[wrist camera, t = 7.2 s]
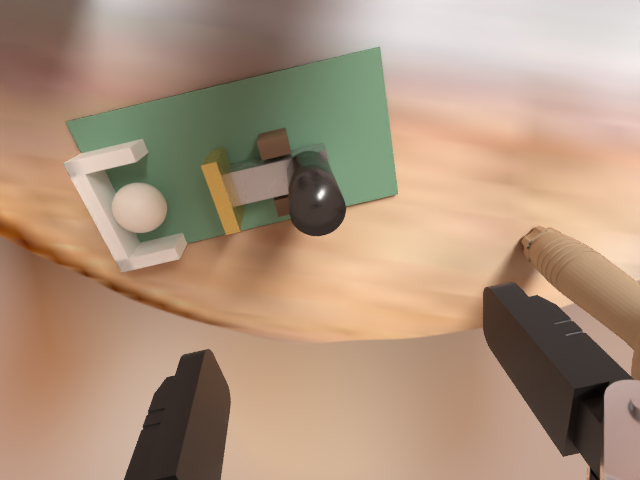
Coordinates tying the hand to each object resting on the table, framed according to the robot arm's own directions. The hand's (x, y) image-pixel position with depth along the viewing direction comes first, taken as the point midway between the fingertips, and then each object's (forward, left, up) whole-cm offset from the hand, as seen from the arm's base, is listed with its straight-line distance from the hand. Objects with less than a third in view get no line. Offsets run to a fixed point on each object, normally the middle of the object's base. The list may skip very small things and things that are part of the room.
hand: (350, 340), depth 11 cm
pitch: (-1, -4, -20) cm, 21 cm away
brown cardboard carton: (0, -2, -20) cm, 20 cm away
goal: (0, -13, -20) cm, 24 cm away
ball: (0, -12, -18) cm, 22 cm away
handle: (+12, +19, -21) cm, 30 cm away
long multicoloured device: (0, -3, -20) cm, 20 cm away
